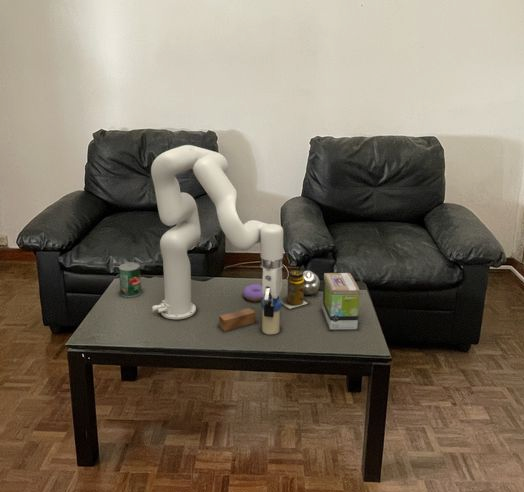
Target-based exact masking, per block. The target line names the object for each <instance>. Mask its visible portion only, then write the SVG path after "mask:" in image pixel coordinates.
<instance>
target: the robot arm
mask: <svg viewBox="0 0 524 492" xmlns="http://www.w3.org/2000/svg"><path fill="white" fill-rule="evenodd" d="M228 169H229V163H228V160H227V159H226V157H225V156H224V155H223V154H221V153H220V152H217V151H213V150H210V149H208V148H203V147H199V146H195V145H191V144H185V145H180V146H177V147H174V148H171V149H168V150H166V151H164V152H162V153H161V154H159V155H158V156H156V157H155V159H154V160H153V161H152V164H151V167H150V175H151V179H152V183H153V187H154V193H155V200H156V205H157V211H158V212H157V213H158V216H159V219H160V222H161V224H164V225H165V226H167V227H171V228H169V229H168V230H167V231H165V232H164V233H163V235H162V236H161V237H160V240H159V248H160V253H161V257H162V268H163V285H164V286H163V289H164V290H163V291H164V299H162V300H161V303H159V304H155V305H151V311H152V312H156V311H157V313H158V314H161V316H162V317H164V318H165V319H168V320H185V319H188V318H190V317H192V316H194V315H195V314H196V312H197V307H196V304H195V303H193V302H192V271H191V260H190V257H189V255H188V251H189V250H190V249H191V248H193V247H194V246H196V245H197V244H198V243H199V241H200V240H201V238H202V237H201V235H202V230H201V224H200V217H199V210H198V205H197V202H196V200H195V198H194V197H193V196H192V195H191V194H189V193H188V192H182V191H181V188H180V183H179V181H178V178H177V177H176V176H177V175H178V174H180V173H184V172H186V171H188V170H192V171H193V174H194V176H195V178H196V179H197V181H198V183H200V185H201V186H202V188H203V189H204V191H205V192H206V194H207V196H208V197H209V198H210V200H211V201H212V203H213V204H214V206H215V208H216V216H217V220H218V223H219V226H220V228H221V230H222V232H223V234H224V235H225V237H226V238H227V239H228V241H229V242H230V244H231V245H233V248H236V249H237V250H238V251H242V252H244V251H249V250H250V249H252V248H253V247H254V246H255V245H257V244H259V245H260V246H259V247H260V249H259V251H260V253H259V254H260V257H259V259H260V260H259V261H260V262H259V263H260V264H259V265H260V268H261V269H262V282H261V283H262V284H261V286H262V295H263V297H264V316H265V317H274V306H273V299H274V298H275V299H276V298H277V297H278V298H280V294H281V292H282V290H283V268H284V228H283V226H281V225H280V224H276V223H266V222H262V221H260V220H256V219H251V220H247V221H246V222H245V223H243V221H241V219H240V217H239V215H238V212H237V208H236V207H237V196H238V192H237V190H236V188H235V186H234V185H233V184H232V182H231V181H230V179H229V177H228V176H227V175H226V173H227V172H228ZM172 226H173V227H172ZM269 296H272V297H269ZM269 299H271V302H270V301H269Z"/></svg>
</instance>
